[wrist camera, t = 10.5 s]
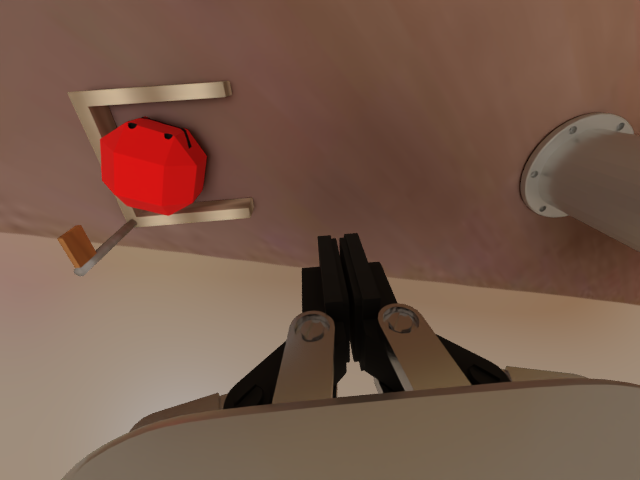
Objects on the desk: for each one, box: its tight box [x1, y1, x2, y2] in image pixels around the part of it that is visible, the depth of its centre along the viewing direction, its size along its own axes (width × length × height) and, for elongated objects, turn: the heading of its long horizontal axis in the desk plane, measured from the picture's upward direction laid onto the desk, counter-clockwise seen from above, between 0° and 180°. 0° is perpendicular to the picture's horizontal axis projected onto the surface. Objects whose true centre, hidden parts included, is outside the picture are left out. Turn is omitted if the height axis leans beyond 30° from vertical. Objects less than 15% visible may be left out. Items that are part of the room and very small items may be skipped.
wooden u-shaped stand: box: [58, 81, 254, 276], centre depth 26 cm, size 13×13×12 cm
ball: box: [100, 117, 207, 216], centre depth 28 cm, size 8×8×8 cm
